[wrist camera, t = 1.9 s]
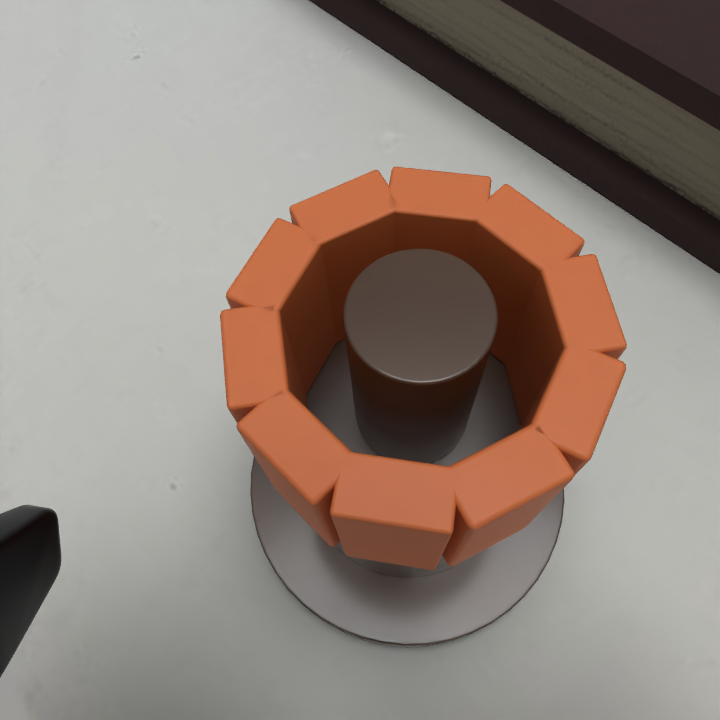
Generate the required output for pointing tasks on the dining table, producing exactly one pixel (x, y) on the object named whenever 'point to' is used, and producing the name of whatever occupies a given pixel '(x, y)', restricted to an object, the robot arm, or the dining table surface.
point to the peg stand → (409, 452)
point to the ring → (511, 346)
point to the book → (583, 91)
